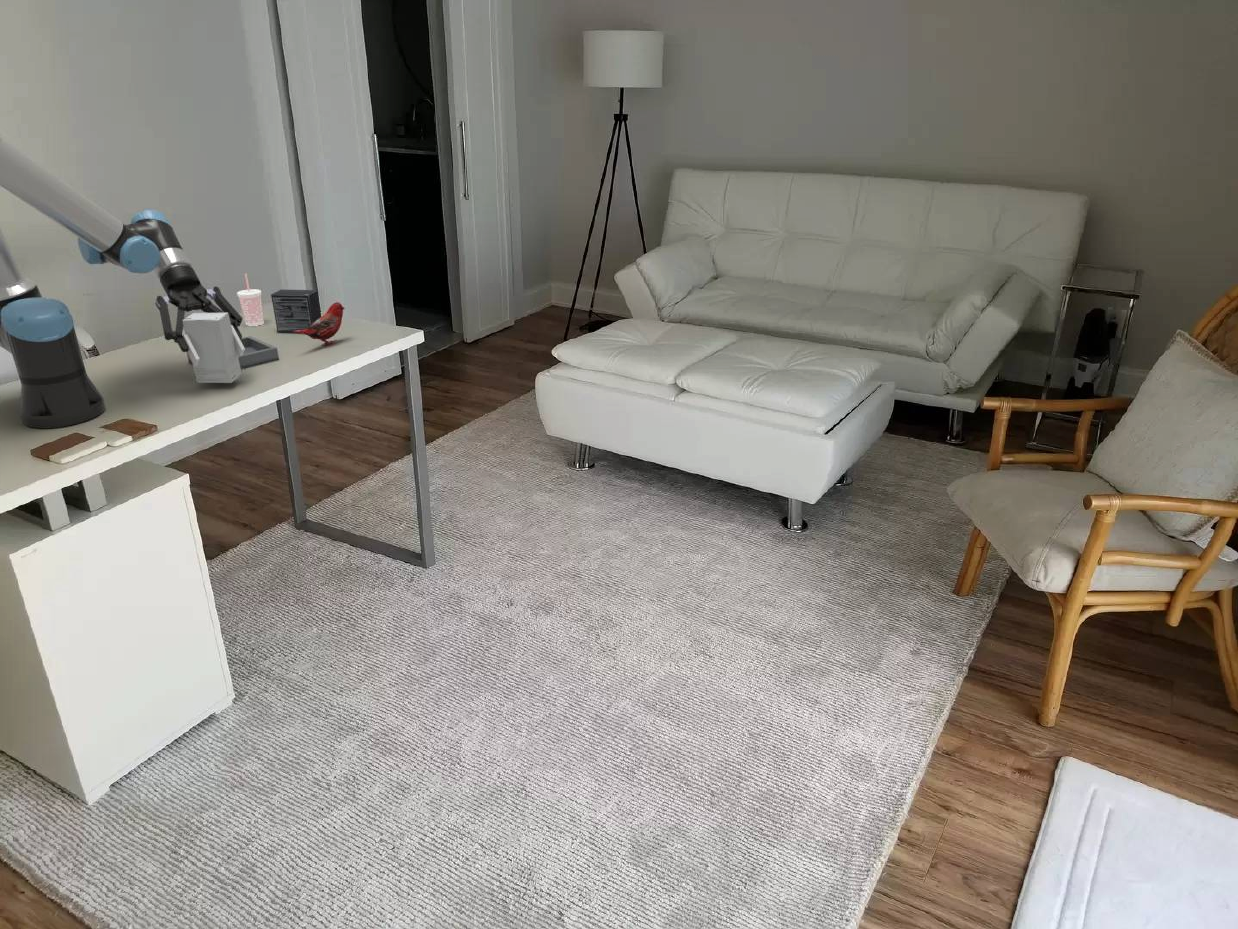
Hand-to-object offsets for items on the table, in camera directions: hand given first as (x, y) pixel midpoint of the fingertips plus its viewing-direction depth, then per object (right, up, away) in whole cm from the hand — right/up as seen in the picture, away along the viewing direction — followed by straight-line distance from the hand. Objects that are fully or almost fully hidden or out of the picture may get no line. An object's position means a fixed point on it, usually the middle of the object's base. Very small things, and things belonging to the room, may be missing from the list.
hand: (220, 357), depth 197 cm
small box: (+2, +12, +43) cm, 45 cm away
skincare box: (-2, -5, +5) cm, 7 cm away
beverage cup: (-12, +15, +48) cm, 52 cm away
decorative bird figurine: (+13, +6, +30) cm, 33 cm away
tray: (-6, +2, +20) cm, 21 cm away
